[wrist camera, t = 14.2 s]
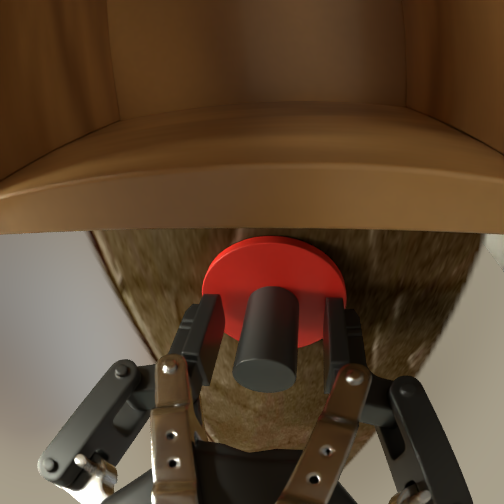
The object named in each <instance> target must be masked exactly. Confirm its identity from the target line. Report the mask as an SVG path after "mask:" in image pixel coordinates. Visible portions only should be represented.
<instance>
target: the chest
mask: <svg viewBox="0 0 504 504" xmlns="http://www.w3.org/2000/svg"><path fill="white" fill-rule="evenodd" d="M180 228H328V229H379V230H414V231H442V232H465V233H486V234H504V0H0V235H2V234H21V233H40V232H41V233H42V232H65V231H93V230H128V229H180Z"/></svg>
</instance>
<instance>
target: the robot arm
mask: <svg viewBox="0 0 504 504" xmlns="http://www.w3.org/2000/svg"><path fill="white" fill-rule="evenodd" d="M224 329H225V315H224V310H223V305H222V299H221V296H220V294H203V296H202V299H201V301H200V304H192V305H191V306H190V307H189V308H188V309H187V310H186V311H185V314H184V316H183V319H182V322H181V324H180V326H179V328H178V331H177V333H176V336H175V338H174V341H173V343H172V346H171V348H170V351H169V353H168V354H167V355H165V356H163V357H161V358H160V359H159V360H158V361H157V363H156V364H153V365H146V366H138V367H137V366H136V364H135V363H134V362H133V361H131V360H127V359H125V360H119V361H117V362H116V363H114V364H113V365H112V366H111V367H110V368H109V370H108V371H107V372H106V373H105V375H104V376H103V377H102V378H101V380H100V381H99V382H98V383H97V384H96V386H95V387H94V388H93V389H92V391H91V392H90V393H89V395H88V396H87V397H86V398H85V399H84V401H83V402H82V403H81V405H80V406H79V407H78V408H77V409H76V411H75V412H74V413H73V415H72V416H71V417H70V418H69V420H68V421H67V422H66V424H65V425H64V426H63V427H62V429H61V430H60V431H59V433H58V434H57V435H56V436H55V438H54V439H53V440H52V442H51V443H50V444H49V446H48V447H47V448H46V450H45V451H44V452H43V454H42V455H41V457H40V458H39V461H38V470H39V472H40V474H41V476H42V477H43V478H45V479H46V480H48V481H50V482H52V483H54V484H55V485H56V486H58V487H60V488H62V489H64V490H66V491H67V492H68V493H70V494H71V495H72V496H73V497H74V498H75V499H77V500H78V501H79V502H80V503H81V504H357V503H356V501H355V500H354V499H353V498H352V497H351V496H350V494H349V493H348V492H347V491H346V490H345V489H344V487H343V486H342V485H341V484H340V482H339V481H338V480H339V478H340V475H341V473H342V470H343V468H344V465H345V463H346V460H347V458H348V455H349V453H350V450H351V447H352V445H353V442H354V439H355V436H356V433H357V430H358V427H359V421H360V422H363V423H367V424H371V425H374V426H375V429H376V431H377V434H378V437H379V439H380V442H381V445H382V448H383V451H384V453H385V456H386V459H387V462H388V465H389V468H390V471H391V473H392V477H393V480H394V482H395V486H396V489H397V492H398V493H397V494H395V495H394V496H393V497H392V498H391V500H390V501H389V504H473V501H472V498H471V495H470V492H469V490H468V487H467V484H466V482H465V479H464V477H463V474H462V472H461V469H460V467H459V464H458V462H457V459H456V457H455V455H454V452H453V450H452V448H451V445H450V443H449V441H448V439H447V436H446V434H445V432H444V430H443V428H442V425H441V423H440V421H439V419H438V417H437V415H436V413H435V411H434V409H433V407H432V404H431V402H430V400H429V398H428V396H427V394H426V392H425V390H424V388H423V386H422V385H421V383H420V382H419V381H418V380H417V379H416V378H414V377H412V376H401V377H398V378H397V379H395V380H394V381H391V380H387V379H383V378H380V377H377V376H376V375H374V374H373V373H372V372H371V371H370V370H369V369H368V367H367V364H366V358H365V350H364V343H363V336H362V330H361V324H360V317H359V316H358V315H357V313H356V312H355V310H354V309H344V303H343V298H332V297H327V298H326V303H325V312H324V321H323V351H324V394H325V393H330V394H329V397H328V399H327V402H326V404H325V407H324V409H323V411H322V413H321V414H320V416H319V418H318V420H317V422H316V425H315V427H314V429H313V431H312V434H311V436H310V438H309V440H308V442H307V444H306V447H305V449H304V451H303V450H289V449H273V450H266V451H259V452H252V453H247V452H244V451H241V450H238V449H236V448H233V447H230V446H228V445H225V444H221V443H214V442H208V438H207V435H206V431H205V425H204V418H203V411H202V403H201V396H200V391H201V387H202V385H203V386H210V382H211V378H212V374H213V371H214V367H215V363H216V359H217V356H218V352H219V348H220V344H221V341H222V337H223V333H224ZM149 417H150V428H151V429H150V430H151V431H150V432H151V455H152V468H151V469H150V470H148V471H147V472H145V473H144V474H143V475H141V476H140V477H138V478H137V479H135V480H134V481H132V482H131V483H129V484H128V485H126V486H125V487H123V488H121V489H120V490H118V491H117V492H115V493H114V485H115V484H116V482H117V470H116V468H115V467H116V465H117V464H118V462H119V461H120V459H121V458H122V456H123V455H124V454H125V452H126V451H127V449H128V448H129V446H130V445H131V444H132V442H133V441H134V439H135V438H136V436H137V435H138V433H139V432H140V430H141V429H142V427H143V426H144V425H145V423H146V422H147V420H148V419H149Z"/></svg>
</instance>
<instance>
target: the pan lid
mask: <svg viewBox="0 0 504 504" xmlns="http://www.w3.org/2000/svg"><path fill="white" fill-rule="evenodd" d="M203 294H220V296H221V299H222V305H223V310H224V315H225V329H224V332H225V333H226V334H228V335H229V336H231V337H232V338H234V339H236V340H238V341H239V344H238V348H237V353H236V357H235V362H234V367H233V371H232V372H233V377H234V379H235V380H236V381H237V382H238V383H239V384H240V385H242V386H243V387H245V388H248V389H250V390H253V391H258V392H266V393H272V392H280V391H283V390H286V389H288V388H290V387H291V386H292V385H293V384H294V383H295V381H296V372H297V352H298V348H300V347H304V346H307V345H310V344H312V343H314V342H317V341H319V340H320V339H322V338H323V321H324V312H325V303H326V298H327V297H332V298H343V303H344V309H345V308H346V302H347V295H346V287H345V283H344V279H343V276H342V274H341V272H340V270H339V269H338V267H337V266H336V264H335V263H334V262H333V261H332V260H331V259H330V258H329V257H328V256H327V255H326V254H325V253H323V252H322V251H321V250H319V249H317V248H316V247H314V246H312V245H310V244H308V243H306V242H303V241H300V240H297V239H293V238H288V237H282V236H260V237H253V238H249V239H246V240H243V241H240V242H238V243H235V244H233V245H231V246H230V247H228V248H226V249H225V250H224V251H222V252H221V253H220V254H219V255H218V256H217V257H216V258H215V259H214V260H213V262H212V263H211V265H210V266H209V269H208V271H207V273H206V276H205V278H204V281H203V286H202V296H203Z"/></svg>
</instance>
